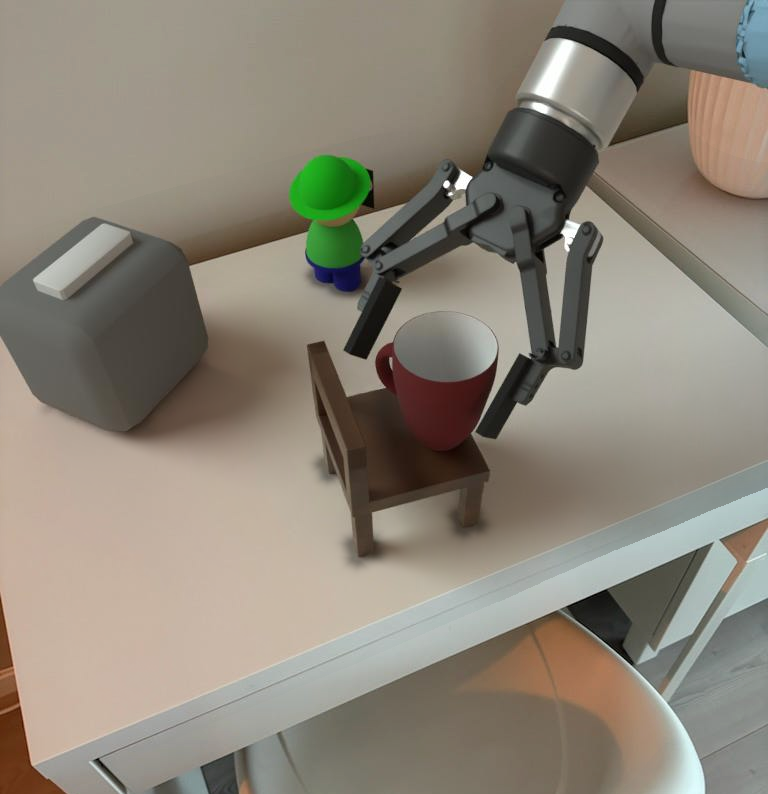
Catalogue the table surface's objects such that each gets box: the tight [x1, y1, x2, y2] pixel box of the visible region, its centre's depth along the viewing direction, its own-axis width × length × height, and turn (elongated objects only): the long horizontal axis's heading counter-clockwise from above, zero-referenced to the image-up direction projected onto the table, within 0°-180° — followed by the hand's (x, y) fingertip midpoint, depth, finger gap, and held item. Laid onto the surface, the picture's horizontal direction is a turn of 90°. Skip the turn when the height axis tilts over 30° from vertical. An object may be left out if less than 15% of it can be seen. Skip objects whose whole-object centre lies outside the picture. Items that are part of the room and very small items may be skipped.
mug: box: [374, 310, 500, 451], centre depth 61 cm, size 10×8×10 cm
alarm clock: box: [0, 216, 209, 432], centre depth 74 cm, size 16×11×16 cm
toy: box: [288, 154, 375, 292], centre depth 84 cm, size 9×9×15 cm
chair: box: [306, 340, 491, 558], centre depth 65 cm, size 12×12×15 cm
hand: (416, 394), depth 59 cm, fingers open, 13 cm apart
